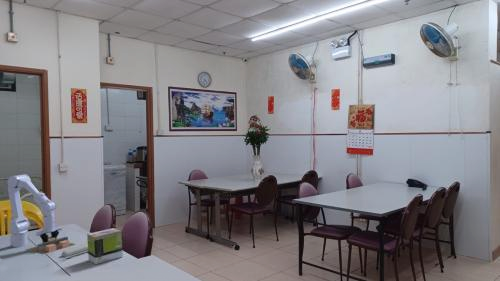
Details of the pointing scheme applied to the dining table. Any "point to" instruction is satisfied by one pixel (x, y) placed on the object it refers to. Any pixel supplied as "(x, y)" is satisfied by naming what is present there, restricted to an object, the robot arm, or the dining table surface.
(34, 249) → the board
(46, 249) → the pink block
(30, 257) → the dining table surface
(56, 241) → the scraper
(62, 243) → the tile
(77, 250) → the tube
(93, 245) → the tea box
